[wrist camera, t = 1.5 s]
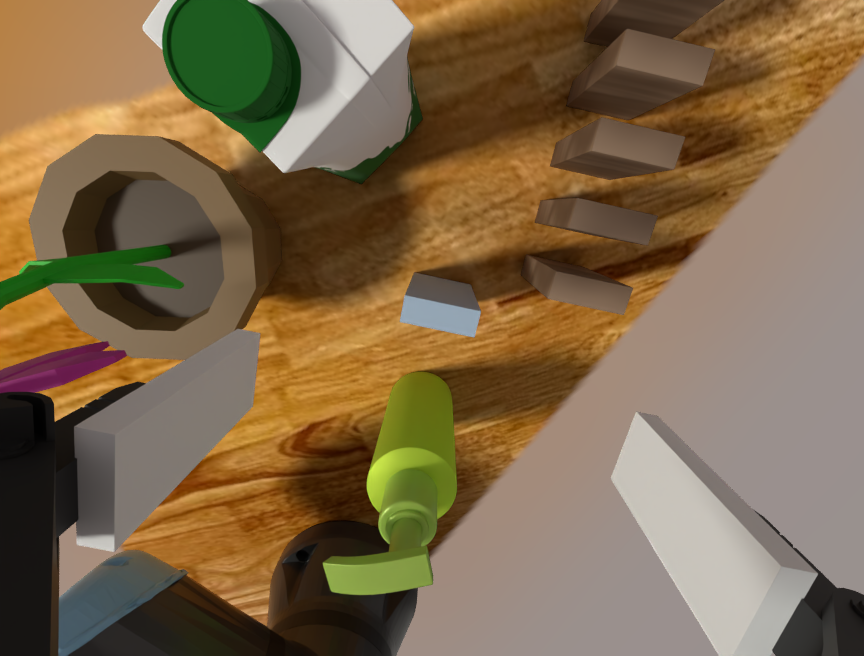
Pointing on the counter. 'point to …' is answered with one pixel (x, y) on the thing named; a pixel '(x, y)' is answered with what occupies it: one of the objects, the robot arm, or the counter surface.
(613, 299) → the domino
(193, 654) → the robot arm
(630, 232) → the domino
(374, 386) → the counter surface
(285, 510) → the counter surface
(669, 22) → the domino
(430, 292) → the domino
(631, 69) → the domino
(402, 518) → the soap dispenser
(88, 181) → the flowerpot
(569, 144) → the domino
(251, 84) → the milk carton
